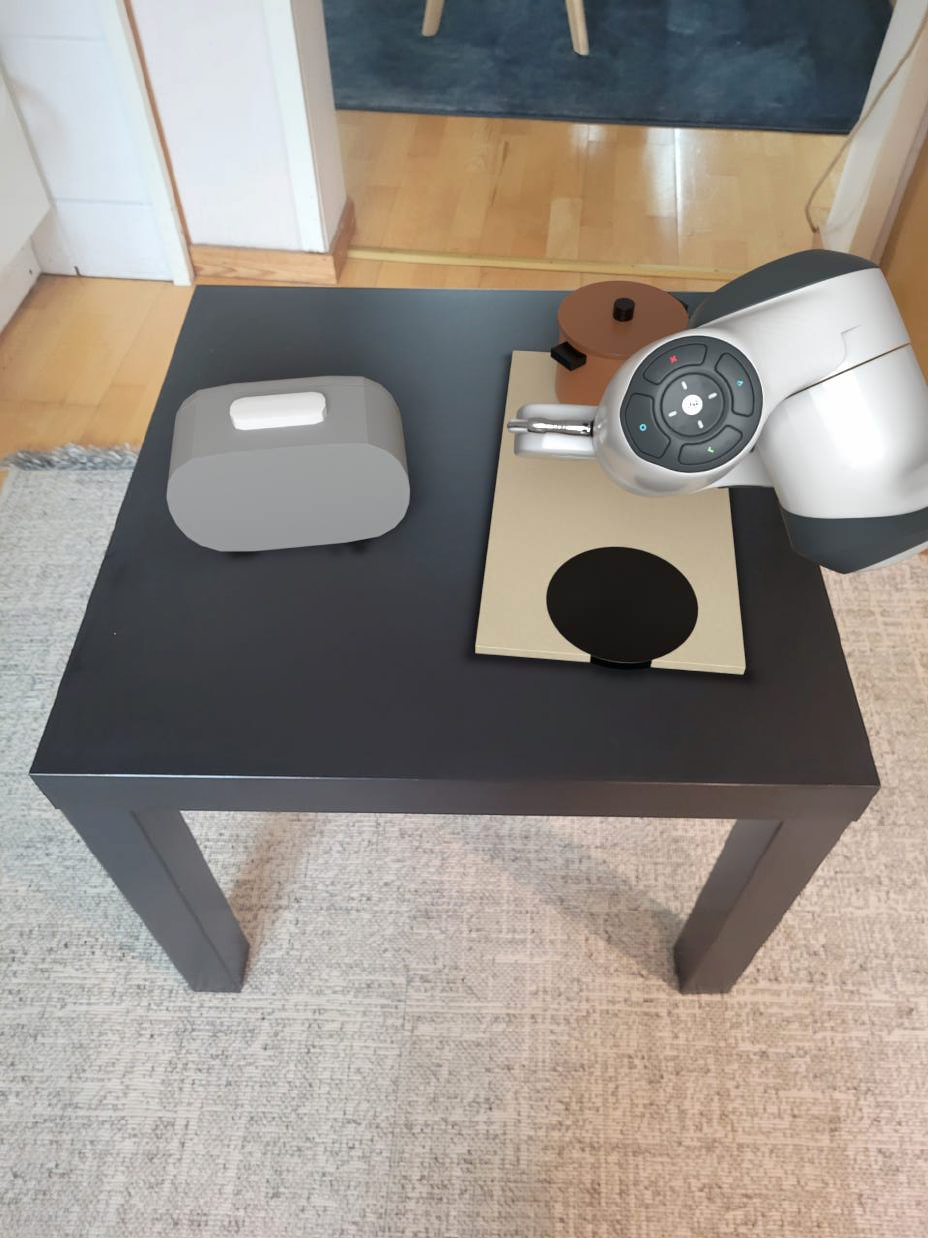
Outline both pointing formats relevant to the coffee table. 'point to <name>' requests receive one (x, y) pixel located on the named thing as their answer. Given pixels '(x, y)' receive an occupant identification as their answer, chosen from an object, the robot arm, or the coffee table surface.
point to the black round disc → (622, 606)
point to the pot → (608, 334)
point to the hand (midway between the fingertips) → (639, 446)
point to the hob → (596, 544)
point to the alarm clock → (288, 464)
